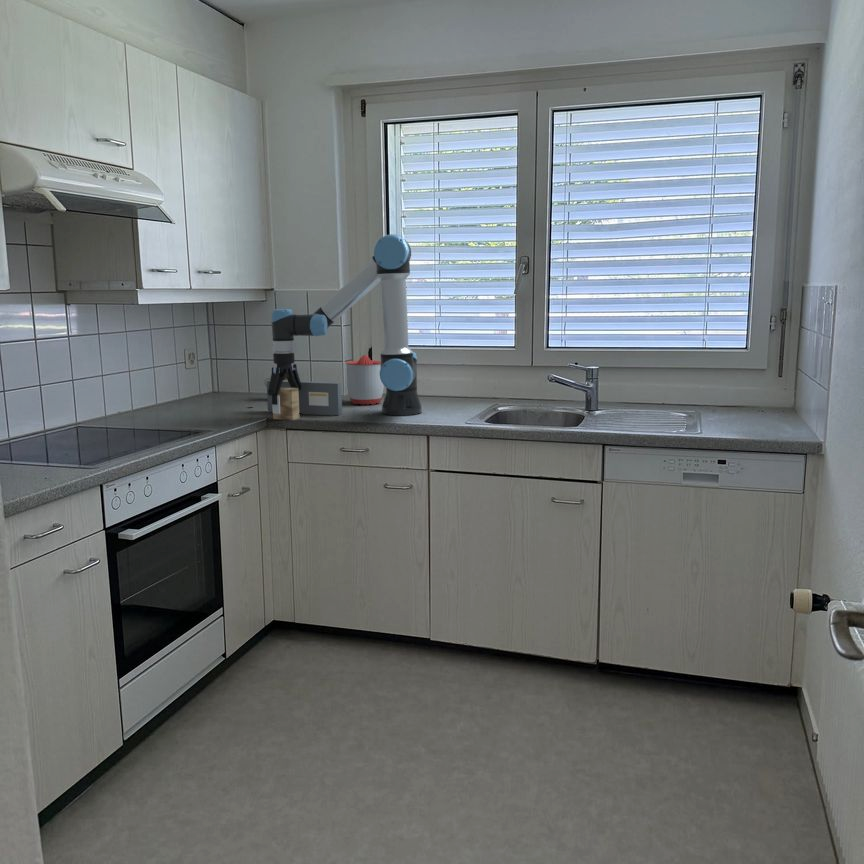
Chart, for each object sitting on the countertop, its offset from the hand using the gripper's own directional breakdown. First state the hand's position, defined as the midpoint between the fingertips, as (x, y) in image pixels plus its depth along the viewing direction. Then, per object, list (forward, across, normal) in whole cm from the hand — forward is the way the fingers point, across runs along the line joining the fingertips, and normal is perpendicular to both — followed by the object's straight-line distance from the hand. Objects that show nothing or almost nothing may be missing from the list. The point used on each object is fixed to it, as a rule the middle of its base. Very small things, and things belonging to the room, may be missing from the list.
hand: (286, 410), depth 285 cm
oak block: (+3, 0, 0) cm, 3 cm away
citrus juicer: (+3, -42, +14) cm, 44 cm away
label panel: (+3, -12, +1) cm, 12 cm away
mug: (+3, -40, -26) cm, 48 cm away
